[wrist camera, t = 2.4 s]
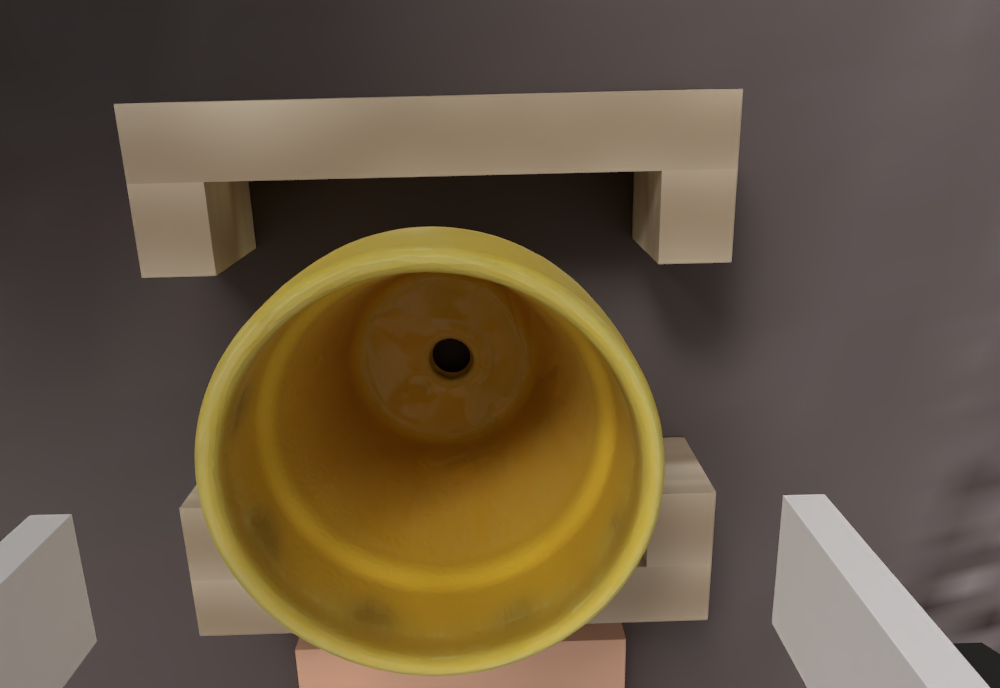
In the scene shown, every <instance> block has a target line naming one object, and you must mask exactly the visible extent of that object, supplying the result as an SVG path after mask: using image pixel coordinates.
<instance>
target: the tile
mask: <svg viewBox="0 0 1000 688" xmlns="http://www.w3.org/2000/svg"><path fill="white" fill-rule="evenodd" d="M295 655H296V663H297V672H298V680H299V688H625V657H626V637H625V634H624V630H623V626H622V623H594V624H585V625H584V626H583V627H581V628H580V629H579V630H577V631H576V632H574V633H573V634H572V635H570V636H569V637H567V638H565V639H564V640H562V641H560V642H559V643H557V644H555V645H553V646H551V647H549V648H547V649H545V650H543V651H541V652H539V653H537V654H535V655H533V656H531V657H528V658H526V659H523V660H521V661H518V662H515V663H512V664H509V665H505V666H502V667H499V668H496V669H491V670H487V671H483V672H477V673H470V674H462V675H449V676H423V675H409V674H400V673H394V672H388V671H383V670H378V669H374V668H370V667H366V666H362V665H359V664H356V663H353V662H350V661H347V660H345V659H342V658H340V657H337V656H335V655H332V654H330V653H328V652H326V651H324V650H322V649H320V648H318V647H316V646H314V645H312V644H310V643H308V642H306V641H305V640H303V639H302V638H300V637H299V639H298V642H297V645H296V648H295Z"/></svg>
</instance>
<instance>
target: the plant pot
mask: <svg viewBox="0 0 1000 688" xmlns="http://www.w3.org/2000/svg"><path fill="white" fill-rule="evenodd" d="M444 339H456V340H459V341H461V342H463V343H464V344H465V345H466V346H467V347H468V349H469V351H470V362H469V364H468V365H467V367H465V368H464V369H463V370H461V371H459V372H446V371H444V370H442V369H440V368H439V367H438V366H437V365H436V364H435V362H434V359H433V349H434V347H435V345H436V344H437V343H438V342H440V341H441V340H444ZM195 476H196V484H197V491H198V496H199V500H200V505H201V508H202V512H203V515H204V518H205V522H206V525H207V528H208V530H209V532H210V534H211V537H212V539H213V541H214V544H215V546H216V548H217V550H218V551H219V553H220V555H221V557H222V559H223V560H224V562H225V564H226V565H227V567H228V568H229V570H230V571H231V573H232V574H233V576H234V577H235V578H236V579H237V581H238V582H239V583H240V584H241V586H242V587H243V588H244V589H245V590H246V592H247V593H248V594H249V595H250V596H251V597H252V598H253V599H254V600H255V601H256V602H257V603H258V604H259V606H260V607H262V608H263V609H264V610H265V611H266V612H267V613H268V614H269V615H270V616H272V617H273V618H274V619H275V620H277V621H278V622H279V623H280V624H282V625H283V626H284V627H286V628H287V629H288V630H290V631H291V632H292V633H294V634H295V635H297V636H298V637H300V638H302V639H303V640H305V641H306V642H308V643H310V644H312V645H314V646H316V647H318V648H320V649H322V650H324V651H326V652H328V653H330V654H332V655H335V656H337V657H340V658H342V659H345V660H347V661H350V662H353V663H356V664H359V665H362V666H366V667H370V668H374V669H378V670H383V671H388V672H394V673H400V674H409V675H423V676H449V675H462V674H470V673H477V672H483V671H487V670H491V669H496V668H499V667H502V666H505V665H509V664H512V663H515V662H518V661H521V660H523V659H526V658H528V657H531V656H533V655H535V654H537V653H539V652H541V651H543V650H545V649H547V648H549V647H551V646H553V645H555V644H557V643H559V642H560V641H562V640H564V639H565V638H567V637H569V636H570V635H572V634H573V633H574V632H576V631H577V630H579V629H580V628H581V627H583V626H584V625H585V624H586V623H587V622H589V621H590V620H591V619H592V618H593V617H595V616H596V615H597V614H598V613H599V612H600V611H601V610H602V609H603V608H605V607H606V605H607V604H608V603H609V602H610V601H611V600H612V599H613V598H614V596H615V595H616V594H617V593H618V592H619V590H620V589H621V588H622V587H623V586H624V584H625V583H626V582H627V580H628V579H629V577H630V576H631V574H632V573H633V572H634V570H635V568H636V567H637V565H638V564H639V562H640V560H641V558H642V556H643V555H644V553H645V551H646V549H647V547H648V544H649V541H650V539H651V536H652V534H653V531H654V528H655V525H656V522H657V518H658V515H659V510H660V506H661V501H662V494H663V486H664V477H665V453H664V444H663V436H662V427H661V423H660V418H659V414H658V411H657V407H656V404H655V401H654V398H653V395H652V392H651V390H650V387H649V385H648V383H647V380H646V378H645V376H644V374H643V372H642V370H641V368H640V366H639V365H638V363H637V361H636V359H635V357H634V356H633V354H632V352H631V351H630V349H629V347H628V346H627V344H626V342H625V341H624V339H623V337H622V336H621V334H620V333H619V331H618V330H617V328H616V327H615V326H614V324H613V323H612V321H611V320H610V319H609V317H608V316H607V315H606V314H605V312H604V311H603V310H602V309H601V308H600V306H599V305H598V304H597V303H596V302H595V301H594V300H593V298H592V297H591V296H590V295H589V294H588V293H587V292H586V291H585V290H584V289H583V288H582V287H581V286H580V285H579V284H578V283H577V282H576V281H575V280H574V279H572V278H571V277H570V276H569V275H568V274H566V273H565V272H564V271H562V270H561V269H560V268H558V267H557V266H556V265H554V264H553V263H551V262H550V261H548V260H547V259H545V258H544V257H542V256H540V255H538V254H536V253H534V252H532V251H530V250H528V249H527V248H525V247H523V246H520V245H518V244H516V243H513V242H511V241H509V240H506V239H503V238H500V237H497V236H494V235H490V234H486V233H482V232H478V231H473V230H467V229H460V228H452V227H434V226H432V227H411V228H403V229H396V230H391V231H387V232H382V233H378V234H374V235H371V236H368V237H365V238H361V239H359V240H356V241H354V242H351V243H349V244H346V245H344V246H342V247H340V248H338V249H336V250H334V251H332V252H331V253H329V254H327V255H326V256H324V257H322V258H320V259H319V260H317V261H315V262H314V263H312V264H311V265H310V266H308V267H307V268H305V269H304V270H302V271H301V272H300V273H298V274H297V275H296V276H294V277H293V278H292V279H291V280H289V281H288V282H287V283H285V284H284V285H283V286H282V287H281V288H280V289H279V290H277V291H276V292H275V293H274V294H273V295H272V296H271V297H270V298H269V299H268V300H267V301H266V302H265V303H264V304H263V305H262V306H261V307H260V308H259V309H258V310H257V311H256V312H255V313H254V314H253V315H252V316H251V318H250V319H249V320H248V321H247V322H246V323H245V324H244V325H243V327H242V328H241V329H240V330H239V332H238V333H237V334H236V335H235V337H234V338H233V340H232V341H231V343H230V344H229V346H228V347H227V349H226V351H225V352H224V354H223V356H222V357H221V359H220V360H219V362H218V364H217V366H216V368H215V370H214V372H213V375H212V377H211V380H210V382H209V384H208V387H207V389H206V393H205V396H204V399H203V402H202V405H201V409H200V414H199V418H198V423H197V430H196V437H195Z"/></svg>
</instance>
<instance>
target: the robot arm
mask: <svg viewBox="0 0 1000 688" xmlns="http://www.w3.org/2000/svg"><path fill="white" fill-rule="evenodd" d="M772 624H773V626H774V628H775V630H776V632H777V633H778V635H779V637H780V639H781V641H782V643H783V644H784V646H785V648H786V650H787V652H788V654H789V655H790V657H791V659H792V661H793V663H794V665H795V666H796V668H797V670H798V672H799V674H800V676H801V678H802V679H803V681H804V683H805V685H806V687H807V688H1000V654H998V653H997V652H995V651H994V650H992V649H991V648H989V647H988V646H986V645H984V644H983V643H956V644H952V642H951V641H950V640H949V639H948V638H947V637H946V635H945V634H944V633H943V632H942V631H941V630H940V628H939V627H938V626H937V625H936V624H935V623H934V621H933V620H932V619H931V618H930V617H929V616H928V614H927V613H926V612H925V611H924V610H923V609H922V607H921V606H920V605H919V604H918V603H917V602H916V600H915V599H914V598H913V597H912V596H911V595H910V593H909V592H908V591H907V590H906V589H905V588H904V586H903V585H902V584H901V583H900V582H899V581H898V579H897V578H896V577H895V576H894V575H893V574H892V572H891V571H890V570H889V569H888V568H887V567H886V565H885V564H884V563H883V562H882V561H881V560H880V558H879V557H878V556H877V555H876V554H875V553H874V551H873V550H872V549H871V548H870V547H869V546H868V544H867V543H866V542H865V541H864V540H863V539H862V537H861V536H860V535H859V534H858V533H857V532H856V530H855V529H854V528H853V527H852V526H851V525H850V523H849V522H848V521H847V520H846V519H845V518H844V516H843V515H842V514H841V513H840V512H839V511H838V509H837V508H836V507H835V506H834V505H833V504H832V502H831V501H830V500H829V499H828V498H827V497H826V495H825V494H811V495H783V501H782V513H781V524H780V535H779V547H778V558H777V569H776V581H775V592H774V603H773V614H772ZM96 642H97V639H96V634H95V629H94V624H93V619H92V614H91V609H90V604H89V599H88V594H87V589H86V584H85V579H84V574H83V569H82V564H81V559H80V554H79V549H78V544H77V539H76V534H75V529H74V524H73V519H72V514H58V515H30V516H28V517H27V518H26V519H25V520H24V521H23V522H22V523H21V524H20V525H18V526H17V527H16V528H15V529H14V530H13V531H12V532H11V533H9V534H8V535H7V536H6V537H5V538H4V539H3V540H2V541H1V542H0V688H63V687H64V686H65V684H66V683H67V682H68V680H69V679H70V677H71V676H72V675H73V673H74V672H75V671H76V669H77V668H78V667H79V665H80V664H81V662H82V661H83V660H84V658H85V657H86V656H87V654H88V653H89V651H90V650H91V649H92V647H93V646H94V645H95V643H96Z"/></svg>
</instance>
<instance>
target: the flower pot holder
mask: <svg viewBox="0 0 1000 688" xmlns="http://www.w3.org/2000/svg"><path fill="white" fill-rule="evenodd" d="M742 97H743V89H696V90H654V91H612V92H569V93H527V94H485V95H442V96H400V97H358V98H315V99H273V100H231V101H188V102H155V103H127V104H114V110H115V116H116V122H117V128H118V134H119V141H120V147H121V153H122V159H123V165H124V171H125V178H126V184H127V190H128V196H129V202H130V208H131V215H132V221H133V227H134V233H135V239H136V245H137V252H138V258H139V264H140V270H141V276H142V278H154V277H192V276H217V275H218V274H219V273H221V272H222V271H224V270H225V269H227V268H228V267H230V266H231V265H232V264H234V263H235V262H237V261H238V260H240V259H241V258H243V257H244V256H245V255H247V254H248V253H250V252H251V251H253V250H254V249H256V242H255V233H254V225H253V216H252V208H251V199H250V190H249V182H248V181H269V180H310V179H350V178H390V177H430V176H470V175H511V174H551V173H591V172H631V171H634V193H633V229H632V239H633V240H634V241H635V242H636V243H637V244H638V245H639V246H640V247H641V248H642V249H644V250H645V251H646V252H647V253H648V254H649V255H650V256H651V257H652V258H653V259H654V260H655V261H656V262H657V263H658V264H686V263H724V262H732V248H733V233H734V218H735V203H736V188H737V173H738V158H739V143H740V128H741V112H742ZM663 444H664V453H665V477H664V486H663V494H662V501H661V506H660V510H659V515H658V518H657V522H656V525H655V528H654V531H653V534H652V536H651V539H650V541H649V544H648V547H647V549H646V551H645V553H644V555H643V556H642V558H641V560H640V562H639V564H638V565H637V567H636V568H635V570H634V572H633V573H632V574H631V576H630V577H629V579H628V580H627V582H626V583H625V584H624V586H623V587H622V588H621V589H620V590H619V592H618V593H617V594H616V595H615V596H614V598H613V599H612V600H611V601H610V602H609V603H608V604H607V605H606V607H605V608H603V609H602V610H601V611H600V612H599V613H598V614H597V615H596V616H595V617H593V618H592V619H591V620H590V621H589V622H587V623H586V624H594V623H625V622H657V621H688V620H708V608H709V593H710V578H711V563H712V548H713V533H714V518H715V503H716V491H715V490H714V488H713V486H712V484H711V483H710V481H709V479H708V477H707V476H706V474H705V472H704V471H703V469H702V467H701V465H700V464H699V462H698V460H697V458H696V457H695V455H694V453H693V452H692V450H691V448H690V446H689V445H688V443H687V441H686V440H685V438H684V437H670V438H663ZM179 510H180V517H181V523H182V529H183V535H184V541H185V547H186V554H187V560H188V566H189V572H190V578H191V584H192V591H193V597H194V603H195V609H196V615H197V621H198V628H199V634H200V636H217V635H248V634H280V633H292V632H291V631H290V630H288V629H287V628H286V627H284V626H283V625H282V624H280V623H279V622H278V621H277V620H275V619H274V618H273V617H272V616H270V615H269V614H268V613H267V612H266V611H265V610H264V609H263V608H262V607H260V606H259V604H258V603H257V602H256V601H255V600H254V599H253V598H252V597H251V596H250V595H249V594H248V593H247V592H246V590H245V589H244V588H243V587H242V586H241V584H240V583H239V582H238V581H237V579H236V578H235V577H234V576H233V574H232V573H231V571H230V570H229V568H228V567H227V565H226V564H225V562H224V560H223V559H222V557H221V555H220V553H219V551H218V550H217V548H216V546H215V544H214V541H213V539H212V537H211V534H210V532H209V530H208V528H207V525H206V522H205V518H204V515H203V512H202V508H201V505H200V500H199V496H198V491H197V485H196V486H195V487H194V489H193V490H192V492H191V493H190V494H189V496H188V497H187V498H186V500H185V501H184V503H183V504H182V505H181V507H180V508H179Z"/></svg>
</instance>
